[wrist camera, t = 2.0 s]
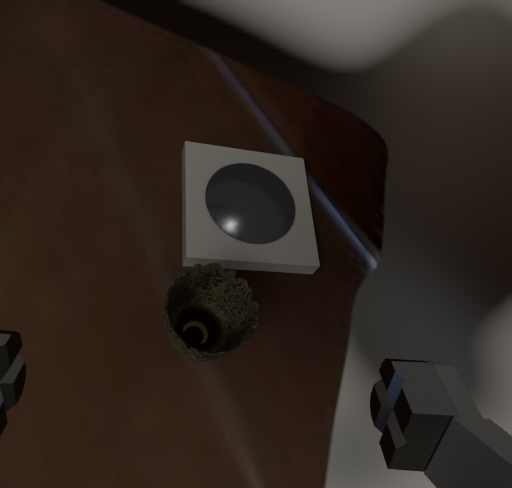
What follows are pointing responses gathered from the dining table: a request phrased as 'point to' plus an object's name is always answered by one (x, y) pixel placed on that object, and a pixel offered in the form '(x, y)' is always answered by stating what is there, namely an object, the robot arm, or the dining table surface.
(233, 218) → the display tile
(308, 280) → the dining table surface
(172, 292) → the cup
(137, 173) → the dining table surface
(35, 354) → the dining table surface
